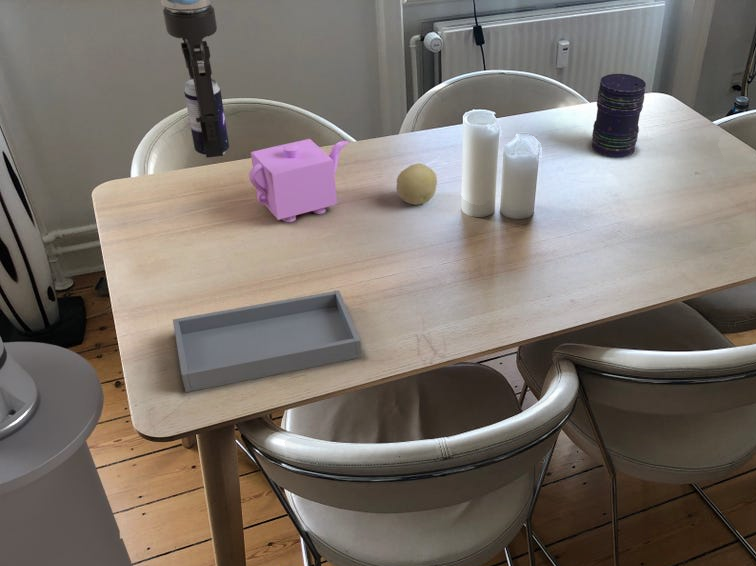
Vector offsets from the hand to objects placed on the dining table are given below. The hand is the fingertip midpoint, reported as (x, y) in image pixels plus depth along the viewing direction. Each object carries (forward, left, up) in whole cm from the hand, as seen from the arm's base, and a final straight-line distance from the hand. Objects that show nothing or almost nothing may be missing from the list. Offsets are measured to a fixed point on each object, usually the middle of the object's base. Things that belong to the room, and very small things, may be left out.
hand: (211, 147), depth 142 cm
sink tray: (+1, -36, -16) cm, 40 cm away
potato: (+36, 0, -16) cm, 40 cm away
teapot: (+15, +5, -16) cm, 23 cm away
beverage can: (0, 0, -1) cm, 1 cm away
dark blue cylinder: (+85, +11, -16) cm, 88 cm away
